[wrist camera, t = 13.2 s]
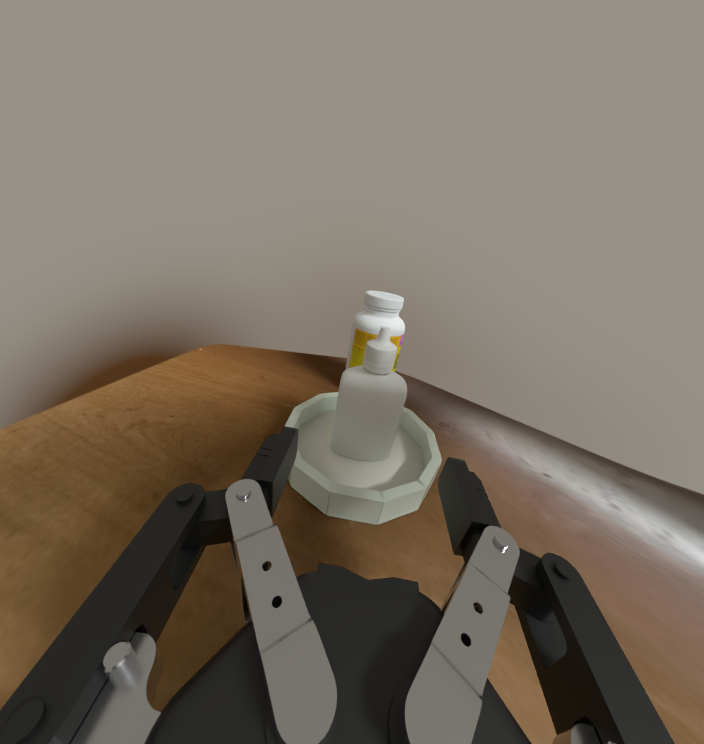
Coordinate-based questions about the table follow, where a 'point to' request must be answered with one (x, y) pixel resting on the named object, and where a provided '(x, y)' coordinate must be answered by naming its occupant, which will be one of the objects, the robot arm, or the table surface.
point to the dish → (361, 467)
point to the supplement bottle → (375, 325)
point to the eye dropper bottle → (369, 404)
